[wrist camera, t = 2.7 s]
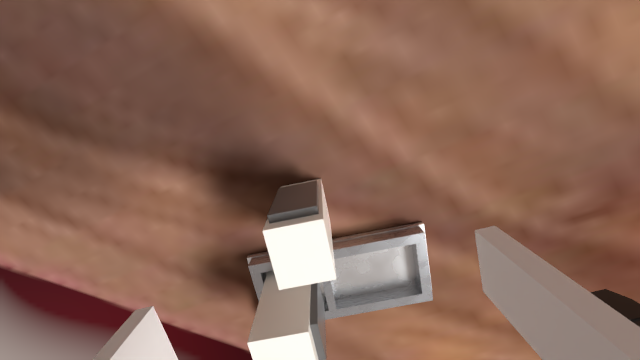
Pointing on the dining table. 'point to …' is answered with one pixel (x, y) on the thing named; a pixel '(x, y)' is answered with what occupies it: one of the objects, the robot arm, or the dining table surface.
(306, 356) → the block
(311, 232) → the block
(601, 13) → the dining table surface
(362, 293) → the rail
